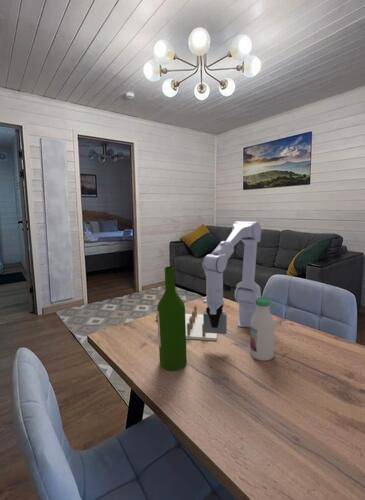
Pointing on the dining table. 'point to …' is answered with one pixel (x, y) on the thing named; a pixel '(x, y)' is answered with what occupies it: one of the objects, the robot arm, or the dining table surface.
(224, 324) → the slate grey rectangular block
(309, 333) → the dining table surface
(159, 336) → the wine bottle
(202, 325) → the peg rack
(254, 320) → the milk bottle
